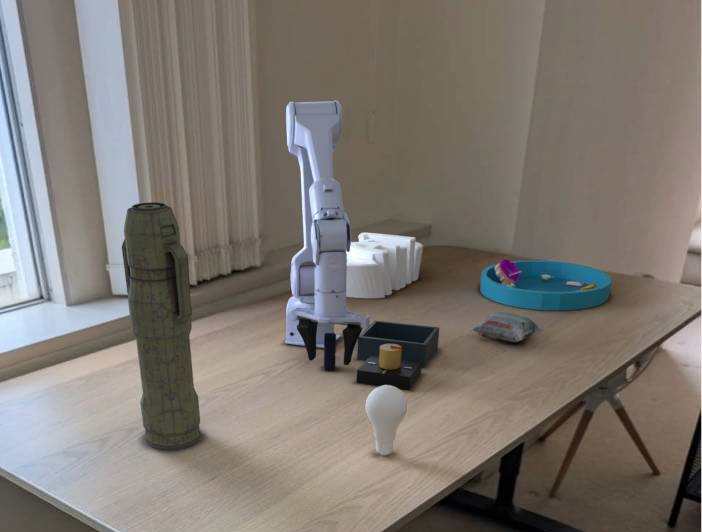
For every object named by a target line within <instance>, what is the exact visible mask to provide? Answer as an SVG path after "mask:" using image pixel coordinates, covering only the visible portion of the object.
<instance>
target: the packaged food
mask: <svg viewBox="0 0 702 532" xmlns="http://www.w3.org/2000/svg"><path fill="white" fill-rule="evenodd" d="M541 330H542V329H541V328H540V326H539V325H538V324H537V323H536V322H535V321H534V320H533V319H531V318H530V317H526V316H523V315H519V314H515V313H510V312H503V311H499V312H493V313H491V314H490V315H488V316H486V318H485V319H483V320H482V321H480V323H479V324H477V325H475V326H473V327H470V328H469V331H471V332H472V331H473V332H476V333H477V334H478V335H480V336H481V337H484V338H488V339H493V340H496V341H501V342H506V343H519V342H521V341H523V340H524V339H526V338H529V337H531V336H533V335H535V334H536V333H538V332H539V331H540V332H541Z"/></svg>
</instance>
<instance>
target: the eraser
mask: <svg viewBox="0 0 702 532" xmlns="http://www.w3.org/2000/svg"><path fill="white" fill-rule="evenodd" d="M336 334H337V333H335V332H334V333H325V335H324V348H323V369H324V371H325V372H334V371H335V370H336V351H337V350H336V349H337V348H336V347H337V341H336Z"/></svg>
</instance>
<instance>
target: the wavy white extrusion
mask: <svg viewBox="0 0 702 532" xmlns="http://www.w3.org/2000/svg"><path fill="white" fill-rule="evenodd" d="M423 249H424V245H423V244H422V243H421V242H418V241H417V240H416V237H415V236H406V235H397V234H396V235H395V234H385V233H376V232H361V233H360V234H358V241H351V247H350V251H349V252H347V251H345V252H346V254H347V276H346V298H354V299H385V298H386V296H390V295H392V294H393V291H400V290H401V289H404V288H406V285H410V284H412V282H415V281H417V280H418V279H419V275H420V268H421V263H422V257H423V251H424V250H423Z"/></svg>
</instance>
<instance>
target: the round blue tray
mask: <svg viewBox="0 0 702 532" xmlns="http://www.w3.org/2000/svg"><path fill="white" fill-rule="evenodd" d="M612 282H613V281H612V277H611V276H610V274H607V273H606V272H605V271H603V270H600V269H597V268H594V267H592V266H587V265H583V264H580V263H572V262H566V261H556V260H537V259H536V260H535V259H534V260H531V259H529V260H514V261H513V260H512V261H511V260H509V259H507V258H503V259H502V260H501V261H500V262H499V263H495V264H492V265H489V266H487V267H485V268H484V269H483V270H481V275H480V286H479V290H480V293H481V294H482V295H483V296H484V297H485V298H487V299H489V300H491V301H493V302H496V303H500V304H502V305H506V306H510V307H516V308H520V309H521V308H522V309H528V310H537V311H538V310H540V311H576V310H583V309H589V308H593V307H596V306H600V305H602V304H604V303H605V302H607V301H608V299H609V296H610V292H611V286H612Z"/></svg>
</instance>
